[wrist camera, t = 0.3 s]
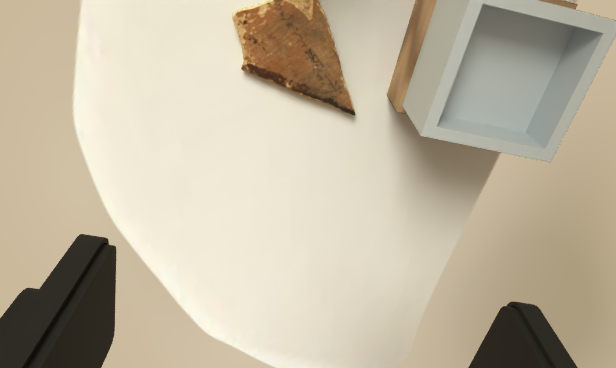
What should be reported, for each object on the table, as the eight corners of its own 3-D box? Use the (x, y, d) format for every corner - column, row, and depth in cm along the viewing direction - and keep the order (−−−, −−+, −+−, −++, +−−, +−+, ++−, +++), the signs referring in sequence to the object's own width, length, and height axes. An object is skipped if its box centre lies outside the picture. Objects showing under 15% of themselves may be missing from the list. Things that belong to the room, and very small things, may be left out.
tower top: (444, -24, 31) (474, -15, 26) (569, 7, 32) (622, 22, 27) (402, 105, 35) (420, 135, 30) (513, 129, 36) (550, 162, 31)
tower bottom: (424, -33, 35) (441, -29, 31) (546, -4, 36) (577, 4, 32) (386, 93, 39) (396, 111, 35) (495, 116, 41) (517, 136, 37)
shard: (353, 109, 40) (356, 116, 39) (271, 135, 41) (270, 143, 40) (315, -20, 35) (316, -18, 34) (222, 14, 36) (219, 17, 35)
